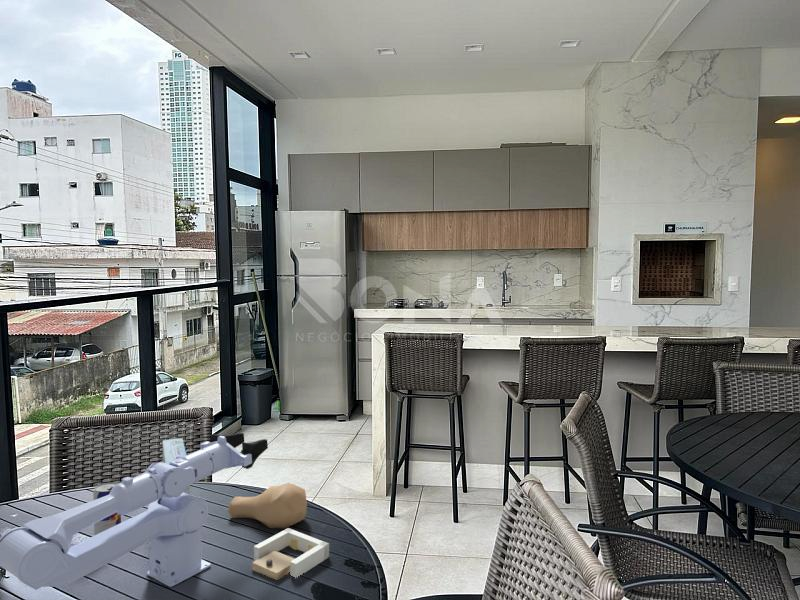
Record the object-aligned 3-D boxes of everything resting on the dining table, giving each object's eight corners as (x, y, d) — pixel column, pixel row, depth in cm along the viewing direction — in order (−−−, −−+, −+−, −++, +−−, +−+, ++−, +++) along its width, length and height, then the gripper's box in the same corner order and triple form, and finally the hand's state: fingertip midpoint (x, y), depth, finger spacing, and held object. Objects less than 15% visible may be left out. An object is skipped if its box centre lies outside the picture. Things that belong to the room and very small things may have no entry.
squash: (301, 536, 131) (293, 501, 129) (223, 536, 135) (215, 502, 133) (317, 508, 141) (310, 476, 139) (244, 509, 146) (237, 477, 144)
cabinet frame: (295, 578, 113) (295, 564, 113) (253, 560, 119) (253, 546, 119) (328, 557, 121) (329, 543, 121) (288, 540, 128) (288, 527, 127)
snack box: (162, 495, 151) (161, 439, 150) (184, 491, 153) (184, 437, 152) (166, 530, 132) (165, 466, 131) (191, 526, 134) (191, 463, 133)
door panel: (276, 583, 112) (276, 569, 112) (252, 571, 116) (252, 558, 116) (298, 569, 117) (298, 556, 117) (273, 559, 121) (273, 546, 121)
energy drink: (110, 546, 124) (109, 492, 123) (88, 543, 125) (87, 490, 124) (126, 535, 129) (125, 483, 128) (105, 532, 130) (104, 481, 129)
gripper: (226, 451, 114) (276, 429, 125) (181, 437, 122) (231, 418, 133) (229, 484, 115) (278, 459, 126) (184, 468, 123) (234, 446, 134)
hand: (254, 440), depth 130 cm, fingers open, 7 cm apart
